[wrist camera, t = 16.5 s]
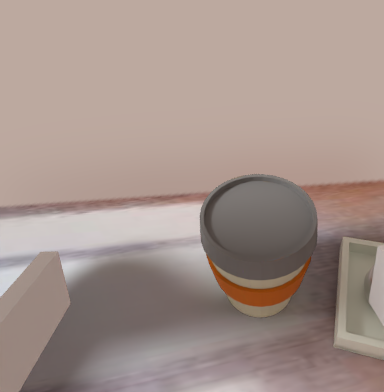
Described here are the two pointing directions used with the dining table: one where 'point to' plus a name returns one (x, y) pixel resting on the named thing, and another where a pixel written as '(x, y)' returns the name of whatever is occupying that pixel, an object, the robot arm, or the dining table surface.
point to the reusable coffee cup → (258, 240)
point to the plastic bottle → (368, 283)
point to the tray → (357, 301)
